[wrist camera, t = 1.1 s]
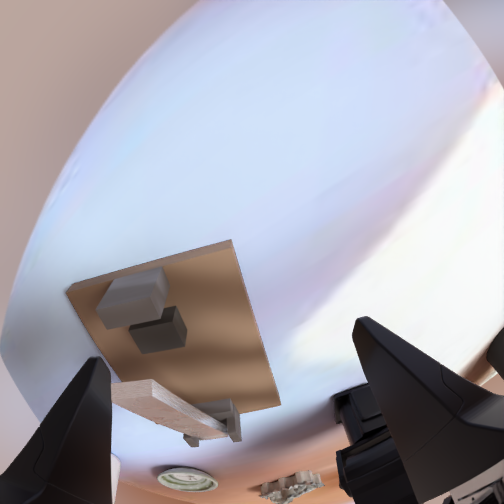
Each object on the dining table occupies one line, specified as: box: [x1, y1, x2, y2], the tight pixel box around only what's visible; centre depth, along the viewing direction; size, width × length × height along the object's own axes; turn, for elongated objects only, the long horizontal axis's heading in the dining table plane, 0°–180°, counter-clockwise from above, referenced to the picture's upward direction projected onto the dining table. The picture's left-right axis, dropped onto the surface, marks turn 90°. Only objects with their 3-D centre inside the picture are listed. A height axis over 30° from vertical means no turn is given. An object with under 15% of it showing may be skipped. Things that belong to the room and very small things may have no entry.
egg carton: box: [259, 470, 325, 504], centre depth 39 cm, size 11×8×4 cm
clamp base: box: [66, 240, 281, 447], centre depth 22 cm, size 18×14×6 cm
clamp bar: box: [111, 379, 228, 440], centre depth 19 cm, size 16×3×1 cm, turn 14°
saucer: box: [157, 467, 218, 492], centre depth 35 cm, size 10×10×2 cm
